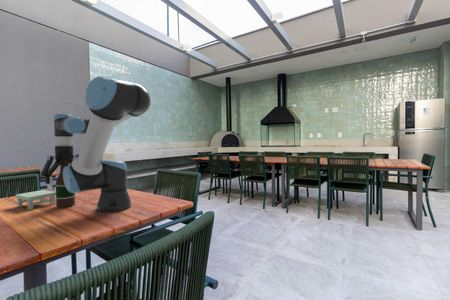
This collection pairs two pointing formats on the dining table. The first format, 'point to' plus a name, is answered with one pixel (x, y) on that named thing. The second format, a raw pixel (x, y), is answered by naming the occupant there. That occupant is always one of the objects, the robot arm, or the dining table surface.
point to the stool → (35, 198)
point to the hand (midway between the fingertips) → (65, 187)
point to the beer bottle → (63, 190)
